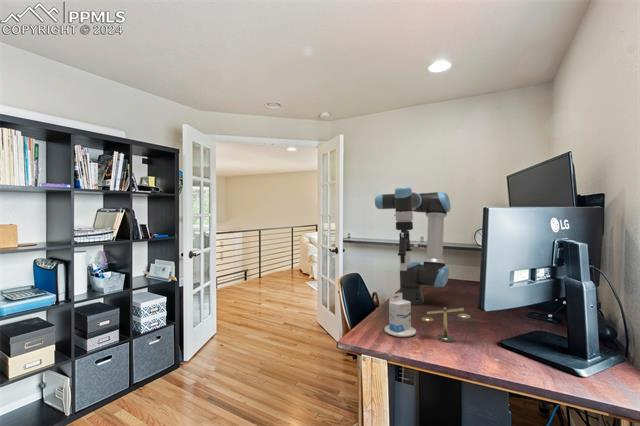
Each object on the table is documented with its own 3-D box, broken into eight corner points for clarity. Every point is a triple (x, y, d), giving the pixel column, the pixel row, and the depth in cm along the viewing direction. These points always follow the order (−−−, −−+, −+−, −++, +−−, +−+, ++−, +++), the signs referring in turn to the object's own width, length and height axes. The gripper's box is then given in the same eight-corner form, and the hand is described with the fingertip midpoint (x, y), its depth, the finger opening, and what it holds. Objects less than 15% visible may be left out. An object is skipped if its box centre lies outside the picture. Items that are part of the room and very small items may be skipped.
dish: (387, 325, 137) (387, 322, 137) (417, 329, 132) (417, 326, 132) (381, 335, 125) (381, 332, 125) (414, 340, 120) (414, 337, 120)
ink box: (397, 333, 125) (397, 297, 125) (388, 329, 129) (388, 295, 129) (411, 328, 129) (410, 294, 130) (402, 325, 133) (402, 292, 134)
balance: (422, 333, 127) (422, 302, 127) (470, 339, 120) (469, 307, 120) (421, 338, 121) (420, 306, 122) (471, 345, 114) (470, 311, 115)
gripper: (399, 220, 150) (401, 262, 151) (390, 222, 128) (392, 272, 128) (415, 220, 148) (416, 263, 148) (409, 222, 125) (410, 273, 125)
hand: (405, 267), depth 138 cm, fingers open, 13 cm apart
